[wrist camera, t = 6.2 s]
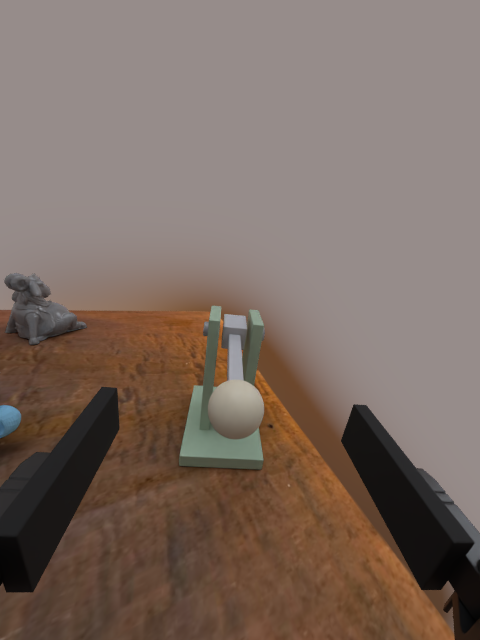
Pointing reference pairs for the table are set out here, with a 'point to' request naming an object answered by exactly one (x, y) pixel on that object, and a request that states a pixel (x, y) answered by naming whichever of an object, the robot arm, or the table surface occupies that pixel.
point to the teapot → (8, 420)
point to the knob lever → (235, 388)
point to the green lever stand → (200, 436)
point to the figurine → (37, 310)
